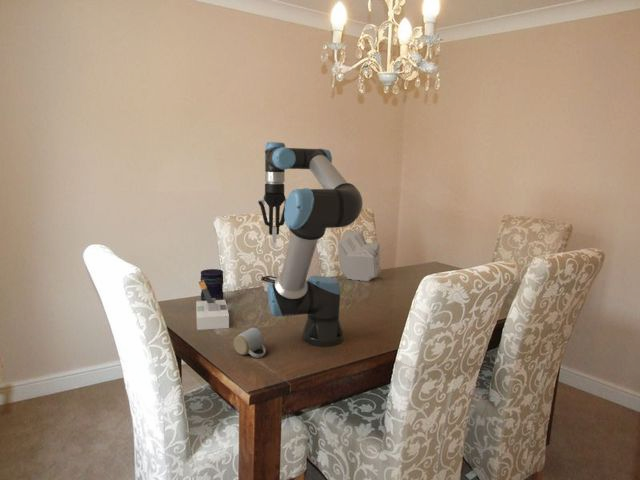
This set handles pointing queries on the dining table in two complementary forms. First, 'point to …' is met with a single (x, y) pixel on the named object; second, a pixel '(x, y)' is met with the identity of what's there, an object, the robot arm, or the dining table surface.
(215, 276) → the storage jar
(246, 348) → the ceramic mug
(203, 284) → the switch lever
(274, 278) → the grey bin
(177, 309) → the dining table surface
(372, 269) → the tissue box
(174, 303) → the dining table surface
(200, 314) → the switch box
